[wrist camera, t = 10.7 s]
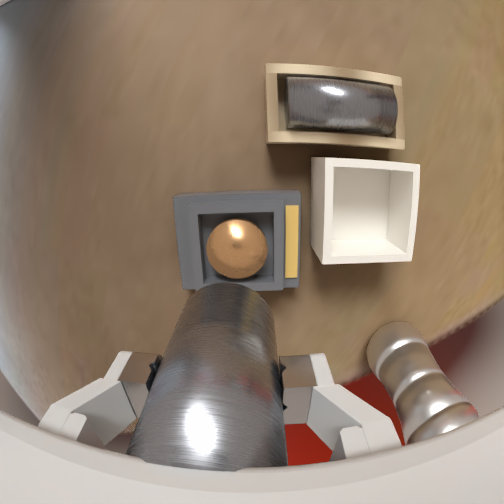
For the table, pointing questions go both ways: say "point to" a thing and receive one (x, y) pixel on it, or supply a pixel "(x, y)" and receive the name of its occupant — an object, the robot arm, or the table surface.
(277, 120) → the trough
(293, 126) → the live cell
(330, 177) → the white square box
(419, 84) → the table surface
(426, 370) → the plastic bottle
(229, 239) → the copper disc
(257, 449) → the cylinder
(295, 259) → the cradle
